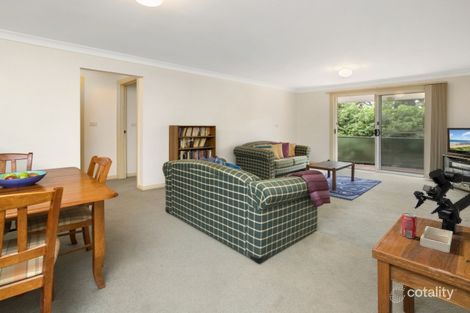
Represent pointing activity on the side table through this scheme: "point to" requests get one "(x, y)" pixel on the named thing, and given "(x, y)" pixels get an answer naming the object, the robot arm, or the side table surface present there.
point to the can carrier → (436, 239)
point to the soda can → (409, 225)
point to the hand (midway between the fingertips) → (422, 210)
